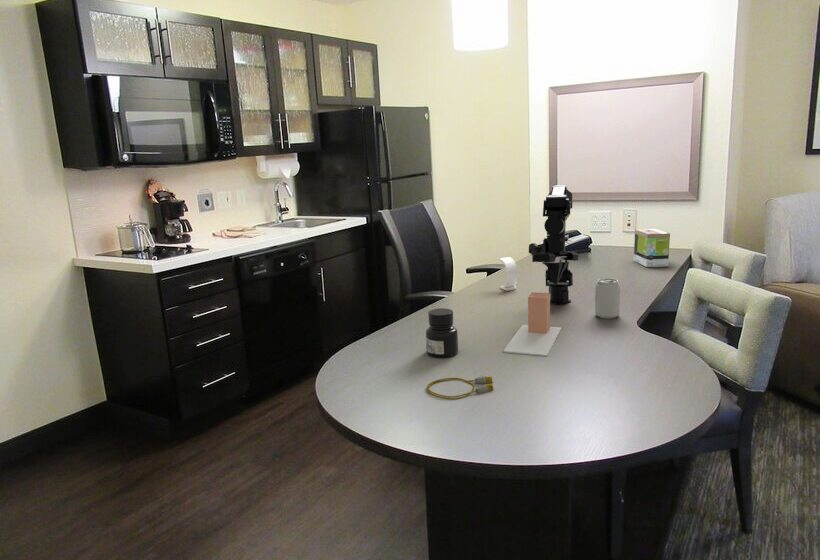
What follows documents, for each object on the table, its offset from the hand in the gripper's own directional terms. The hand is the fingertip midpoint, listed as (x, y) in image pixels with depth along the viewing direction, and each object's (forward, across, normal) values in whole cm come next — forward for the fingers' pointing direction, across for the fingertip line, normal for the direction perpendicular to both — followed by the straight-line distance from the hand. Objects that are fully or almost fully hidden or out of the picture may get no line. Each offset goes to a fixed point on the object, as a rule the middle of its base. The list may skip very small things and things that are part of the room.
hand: (555, 283), depth 184 cm
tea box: (-3, -92, -7) cm, 93 cm away
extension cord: (+22, +59, +10) cm, 64 cm away
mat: (+15, +21, +5) cm, 26 cm away
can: (+11, -12, +12) cm, 20 cm away
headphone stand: (+5, -24, -34) cm, 42 cm away
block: (+13, +13, +3) cm, 19 cm away
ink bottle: (+17, +44, -9) cm, 48 cm away
